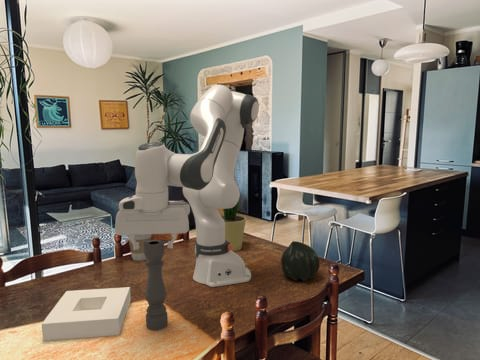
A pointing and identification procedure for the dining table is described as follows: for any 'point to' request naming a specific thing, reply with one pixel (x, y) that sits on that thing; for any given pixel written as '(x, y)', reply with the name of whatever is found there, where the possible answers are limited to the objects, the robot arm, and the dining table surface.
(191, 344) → the dining table surface
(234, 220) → the potted cactus
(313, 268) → the squash
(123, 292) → the socket block
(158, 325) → the candle holder
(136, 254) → the coffee cup
